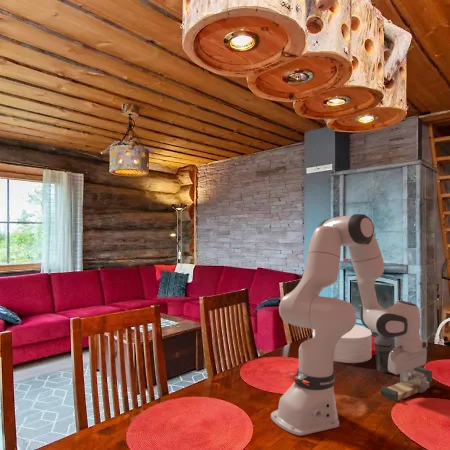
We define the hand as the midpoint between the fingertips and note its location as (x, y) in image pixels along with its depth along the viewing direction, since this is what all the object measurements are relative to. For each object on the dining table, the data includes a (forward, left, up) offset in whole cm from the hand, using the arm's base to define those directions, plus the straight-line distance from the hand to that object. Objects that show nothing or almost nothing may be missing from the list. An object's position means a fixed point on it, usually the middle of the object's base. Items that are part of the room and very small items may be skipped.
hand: (407, 380), depth 138 cm
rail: (0, 0, -4) cm, 4 cm away
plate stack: (+13, +42, -4) cm, 44 cm away
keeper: (+4, 0, -4) cm, 5 cm away
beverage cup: (+10, +17, -4) cm, 20 cm away
